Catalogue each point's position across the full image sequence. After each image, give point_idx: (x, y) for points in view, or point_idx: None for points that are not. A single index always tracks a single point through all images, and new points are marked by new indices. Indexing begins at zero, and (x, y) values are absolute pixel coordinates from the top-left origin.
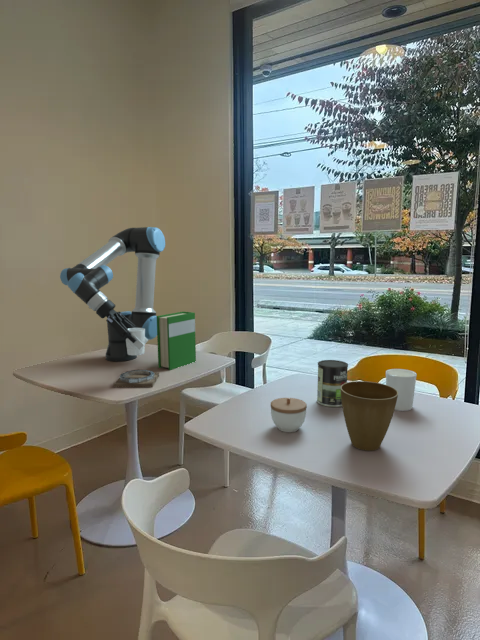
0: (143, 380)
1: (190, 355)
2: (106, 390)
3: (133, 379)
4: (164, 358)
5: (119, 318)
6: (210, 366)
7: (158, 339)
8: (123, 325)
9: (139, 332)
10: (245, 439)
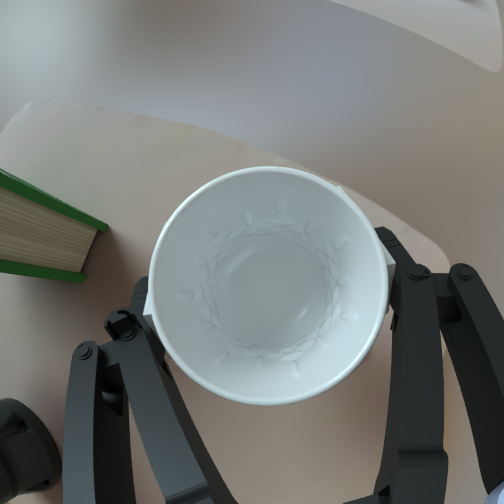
0: None
1: (22, 180)
2: (390, 356)
3: None
4: (67, 247)
5: (420, 501)
6: (71, 118)
7: (5, 265)
8: (432, 377)
9: (338, 197)
10: (481, 16)
